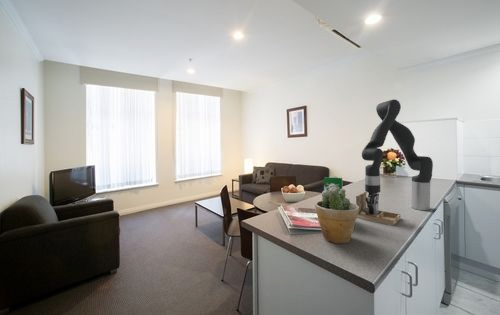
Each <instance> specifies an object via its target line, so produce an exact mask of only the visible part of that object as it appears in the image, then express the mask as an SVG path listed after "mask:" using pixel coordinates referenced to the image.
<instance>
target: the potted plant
mask: <svg viewBox="0 0 500 315" xmlns="http://www.w3.org/2000/svg"><path fill="white" fill-rule="evenodd" d="M328 188H329V189H328V190H329V191H327V190H325V191H324V190H323V191H322V192H321V199H322V200H319V201H316V202H315V203H314V207H315V208H314V209H315V214H316V215H317V220H318V223H319V224H318V225H319V227H320V231H321V233H322V234H321V235H322V236H323V238H324V239H325V240H326V241H327V242H330V243H334V244H346V243H349V242H350V241H351V238H352V234H353V232H354V228H355V224H356V221H357V219H358V218H357V217H358V212H359V206H358V205H356V203H355V202H351V201H350V199H349V198H347V197H346V189H344V188H342V189H340V191H339V188H338V186H337V185H335V184H331V185H329V187H328Z"/></svg>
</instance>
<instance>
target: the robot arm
mask: <svg viewBox="0 0 500 315" xmlns="http://www.w3.org/2000/svg"><path fill="white" fill-rule="evenodd" d="M375 109H376V110H375V111H376V114H377V116H378V117H379V118H380V120H381V122H379V124H377V126H376V128H375V129H374V130H373V132H372V134H371V137H370V140H369V142H368V143H366V145H365V147H364V148H363V150H362V151H361V157H362V159H363V160H364V161H366V162H367V161H370V162H372V163H371V164H368V165H366V166H365V173H364V175H365V177H364V192H366V193H368V195H367V196H366V208H367V207H369V214H371V215H373V214H374V204H375V203H379V200H380V199H379V196H380V194H379V193H380V192H381V174H380V173H381V165H382V162H383V158H384V151H383V150H382V149H381V147H383V146H384V144H385V141H386V138H387V136H388V133H389V132H390V134H391V135H392V137H393V139H394V140H395V142H396V144H397V146H398V147H399V149H400V150H401V152H402V154H403V156H404V158H405V161H406V162H407V165H408V167H409V168H410V169H411V170H412V171H419V172H418V174H417V175H414V176H412V177H411V209H414V210H419V211H430V209H431V182H432V181H431V180H432V178H433V170H434V169H433V168H434V163H433V162H434V161H433V159H432V158H431V157H429V156H419V155H418V154H417V153H416V151H415V149H414V148H415V141H416V140H415V136H414V134H413V132H412V130H411V129H410V128H409V127H407V126H406V125H404V124H402V123H401V122H399V121H397V120H396V119H397V117H398V115H399V114H400V112H401V102H400V101H399V100H397V99H394V98H393V99H389V100H386V101H383V102H381V103H379V104H377V105H376V107H375ZM370 204H371V205H370Z"/></svg>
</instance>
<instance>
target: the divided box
mask: <svg viewBox="0 0 500 315" xmlns="http://www.w3.org/2000/svg"><path fill="white" fill-rule="evenodd" d="M366 197H367V192H366V191H364V192H362V193H360V194H358V195H356V196H355V198H356V200H355V201H356V202H355V204H356V205H358V206H359V212H358V217H357V218H356V219H361V220H365V221H370V222H373V223H380V224H384V225H389V226H392V227H394V226H395V225H396V224H397V222H399V221H400V220H401V214H400V213H396V212H390V211H383V210H380V209H379V214H377V215H371V214H367V213H366V212H365V209H367V202H366ZM360 212H365V213H366V215H363V214H360Z"/></svg>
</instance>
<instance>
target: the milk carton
mask: <svg viewBox="0 0 500 315" xmlns="http://www.w3.org/2000/svg"><path fill="white" fill-rule="evenodd" d="M331 184H335V185H337V186H338V188H339V191H340V189H343V178H342V177H338V176H335V175H334V176H333V175H331V176H329V177H327V176H325V177H323V191H325V190H327V191H329V190H328V189H329V188H328V187H329V185H331Z"/></svg>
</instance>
